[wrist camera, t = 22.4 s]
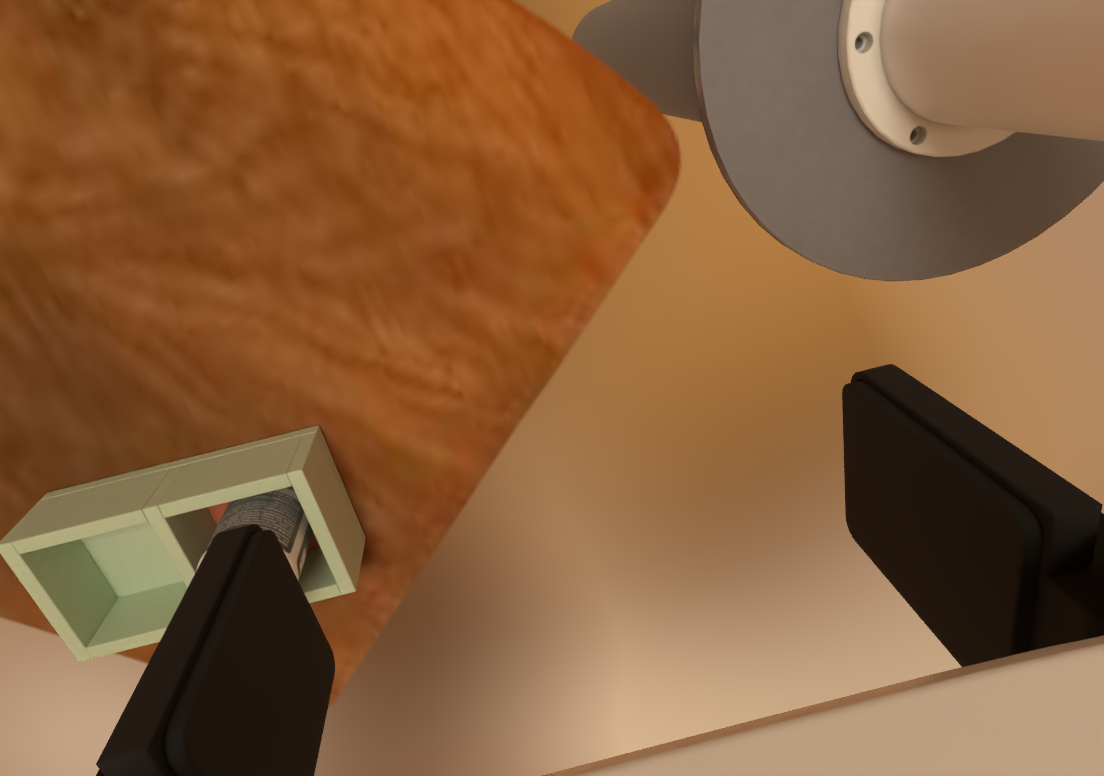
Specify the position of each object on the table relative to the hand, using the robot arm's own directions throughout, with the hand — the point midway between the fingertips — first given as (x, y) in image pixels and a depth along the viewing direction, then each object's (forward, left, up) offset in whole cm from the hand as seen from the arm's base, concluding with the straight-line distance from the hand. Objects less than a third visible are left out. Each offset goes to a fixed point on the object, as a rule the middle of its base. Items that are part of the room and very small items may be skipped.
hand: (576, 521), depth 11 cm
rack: (+20, +13, -26) cm, 36 cm away
